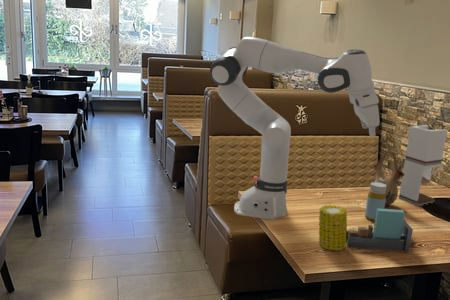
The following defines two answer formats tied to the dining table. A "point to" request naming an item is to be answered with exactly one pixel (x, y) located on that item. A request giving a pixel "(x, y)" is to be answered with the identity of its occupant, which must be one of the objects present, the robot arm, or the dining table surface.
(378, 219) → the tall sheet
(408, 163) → the white model tower
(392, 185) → the ceramic vessel
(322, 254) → the dining table surface
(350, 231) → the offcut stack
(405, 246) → the rack
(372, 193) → the bottle
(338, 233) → the food
